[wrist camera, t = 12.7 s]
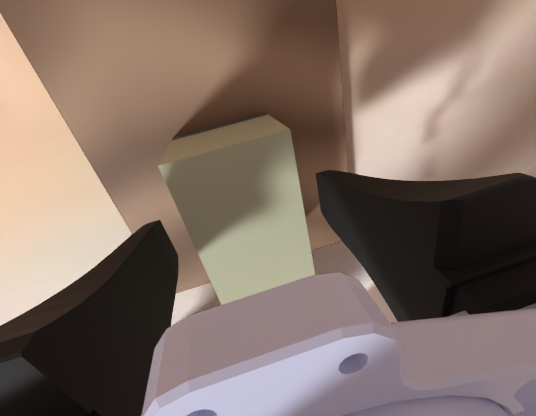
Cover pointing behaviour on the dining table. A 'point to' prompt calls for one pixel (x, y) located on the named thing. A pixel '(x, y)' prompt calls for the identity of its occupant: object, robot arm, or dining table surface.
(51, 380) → the robot arm
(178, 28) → the walnut board
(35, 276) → the dining table surface
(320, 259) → the dining table surface
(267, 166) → the block
